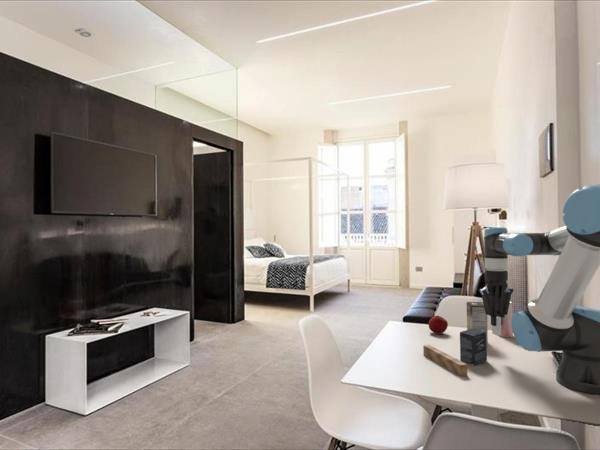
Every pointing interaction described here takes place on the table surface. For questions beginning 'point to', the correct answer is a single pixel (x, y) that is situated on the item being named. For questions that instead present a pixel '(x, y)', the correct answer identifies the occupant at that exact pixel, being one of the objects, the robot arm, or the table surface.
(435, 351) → the board
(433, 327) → the apple
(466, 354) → the box
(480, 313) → the coffee box
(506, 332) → the beverage can
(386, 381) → the table surface
